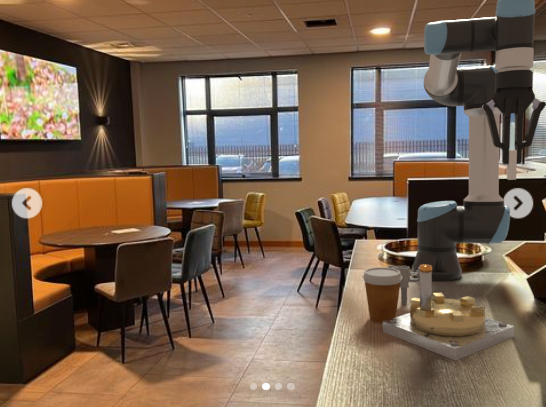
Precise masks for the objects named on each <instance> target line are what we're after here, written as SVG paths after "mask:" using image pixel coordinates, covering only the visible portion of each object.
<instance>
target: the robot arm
mask: <svg viewBox="0 0 546 407" xmlns="http://www.w3.org/2000/svg"><path fill="white" fill-rule="evenodd" d="M535 2H536V1H535V0H497V2H496V8H495V10H496V11H495V14H494V15H495V16H490V17H480V18H478V17H477V18H468V19H456V20H452V19H451V20H438V21H434V22H428V23H426V24H425V26H424V37H423V40H424V42H423V47H424V48H423V50H424V53H425V55H427V56H429V64H428V70H427V71H425V72H426V73H425V74H424V77H423V87H424V91H425V93H426V94H427V95H428V96H429V97H430V98H431V99H432V100H433V101H435V102H437V103H439V104H441V105H444V106H447V107H463V113H464V114H466V116H467V117H468V195H467V196H466V197H465V198H463V204H462V205H458V203H457V202H456V201H455V200H444V201H443V200H441V201H433V202H428V203H425V204H423V205H421V206H419V208H418V209H417V219H416V222H417V251H416V255H415V258H414V260H413V261H414V262H413V264H412V265H411V266H412V267H411V272H416V270H418V267H420V265H423V264H427V265H432V282H434V281H435V282H439V281H440V282H446V281H447V282H448V281H455V280H458V279H461V277H462V275H463V274H462V272H463V271H462V267H461V264H460V261H459V260H460V259H459V257H458V255H457V244H487V245H490V244H502V243H503V242H504V241H505V240H506V238H507V236H508V232H509V229H510V222H511V214H510V213H511V209H510V206H509V205H507V204H506V205H505V200H504V198H503V197H501V196H500V194H499V193H500V192H499V191H500V190H499V186H500V185H499V184H500V182H499V181H500V178H499V176H500V174H499V173H500V171H499V170H500V159H499V158H500V149H501V152H502V153H501V155H502V156H501V162H502V164H503V165H506V180H509V181H511V180H512V181H513V180H515V181H516V180H517V166H518V165H521V164H522V162H523V159H522V158H523V149H525V148H527V147H528V148H529V147H530V146H532V144H533V140H534V137H535V134H536V130H537V126H538V123H539V120H540V115H541V113H542V111H543V110H544V109H545V107H546V101H541V100H540V99H538V98H536V94H535V93H534V91H533V86H534V84H533V83H534V72H533V70H532V68H533V67H534V52H535V51H534V47H535V46H534V43H535V42H534V40H535V21H536V20H535V18H536V17H535V16H536V15H535V14H536V12H537V11H536V6H535ZM491 51H493V52H495V65H490V64H488V65H479V66H478V65H476V66H466V67H459V63H460V60H461V57H462V53H463V54H465V53H475V52H477V53H479V52H491ZM531 104H532V105H531ZM530 106H531V109H532V112H531V115H530V119H529V121H528V126H527V130H526V133H525V136H524V115H525V112H526V110H528V108H529V107H530ZM512 114H513V115H514V149H510V148H511V145H510V144H511V118H512ZM500 115H501V116H502V117H501V118H502V126H501V128H502V130H501V131H502V132H501V134H502V135H501V136H502V137H501V139H500ZM523 137H524V138H523ZM414 277H415V278H418V277H419V276H414Z"/></svg>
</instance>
